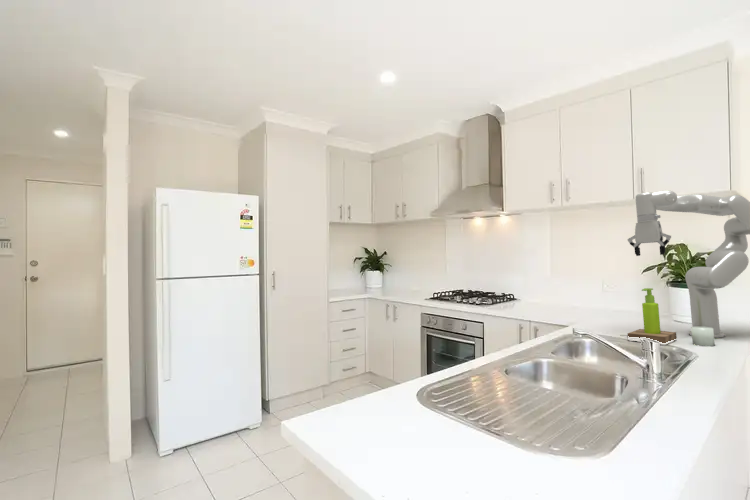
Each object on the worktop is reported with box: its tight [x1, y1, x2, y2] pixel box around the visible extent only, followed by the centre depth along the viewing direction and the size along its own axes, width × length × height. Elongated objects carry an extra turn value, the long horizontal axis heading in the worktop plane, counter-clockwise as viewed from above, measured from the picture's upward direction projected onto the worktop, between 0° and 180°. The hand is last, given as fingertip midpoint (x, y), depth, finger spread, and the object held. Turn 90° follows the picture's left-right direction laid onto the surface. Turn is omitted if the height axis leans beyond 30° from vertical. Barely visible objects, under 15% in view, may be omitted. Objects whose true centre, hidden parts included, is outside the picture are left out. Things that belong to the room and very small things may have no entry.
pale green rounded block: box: [690, 326, 716, 347], centre depth 158 cm, size 7×7×7 cm
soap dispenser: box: [641, 287, 662, 334], centre depth 170 cm, size 6×7×20 cm
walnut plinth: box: [627, 328, 678, 343], centre depth 169 cm, size 14×14×4 cm
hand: (650, 255), depth 177 cm, fingers open, 9 cm apart
